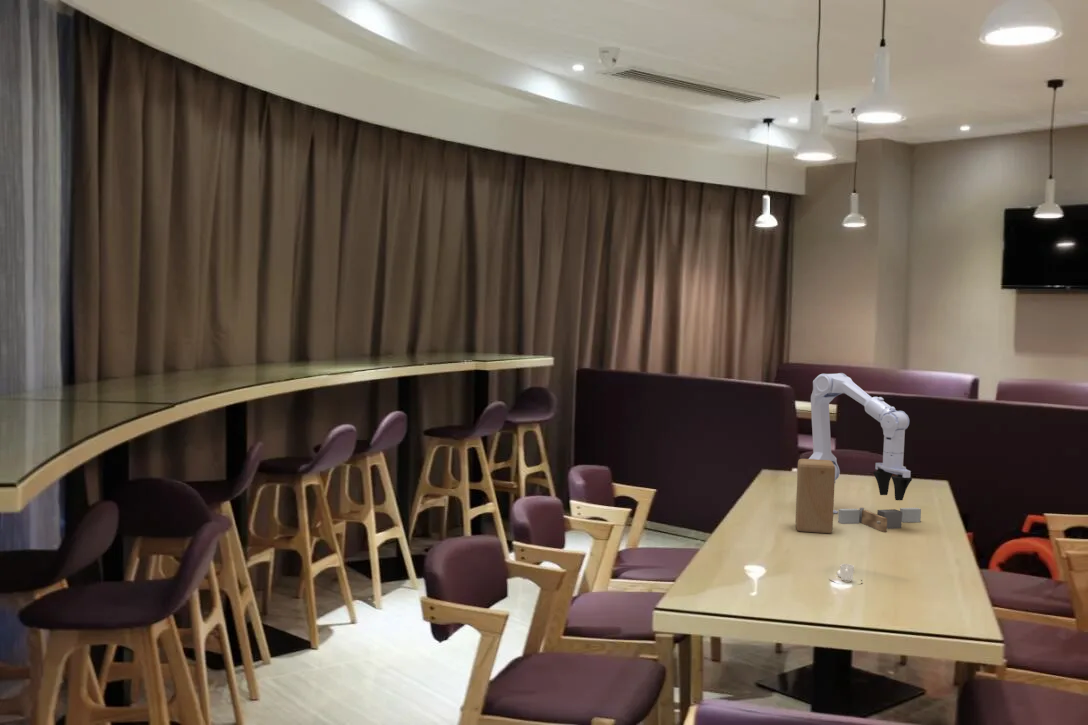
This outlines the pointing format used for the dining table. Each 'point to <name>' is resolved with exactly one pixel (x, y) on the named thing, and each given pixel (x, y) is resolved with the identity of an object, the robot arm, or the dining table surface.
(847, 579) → the teacup and saucer
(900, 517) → the grey rectangular block
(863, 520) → the door
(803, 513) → the wooden block
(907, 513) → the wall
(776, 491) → the dining table surface
